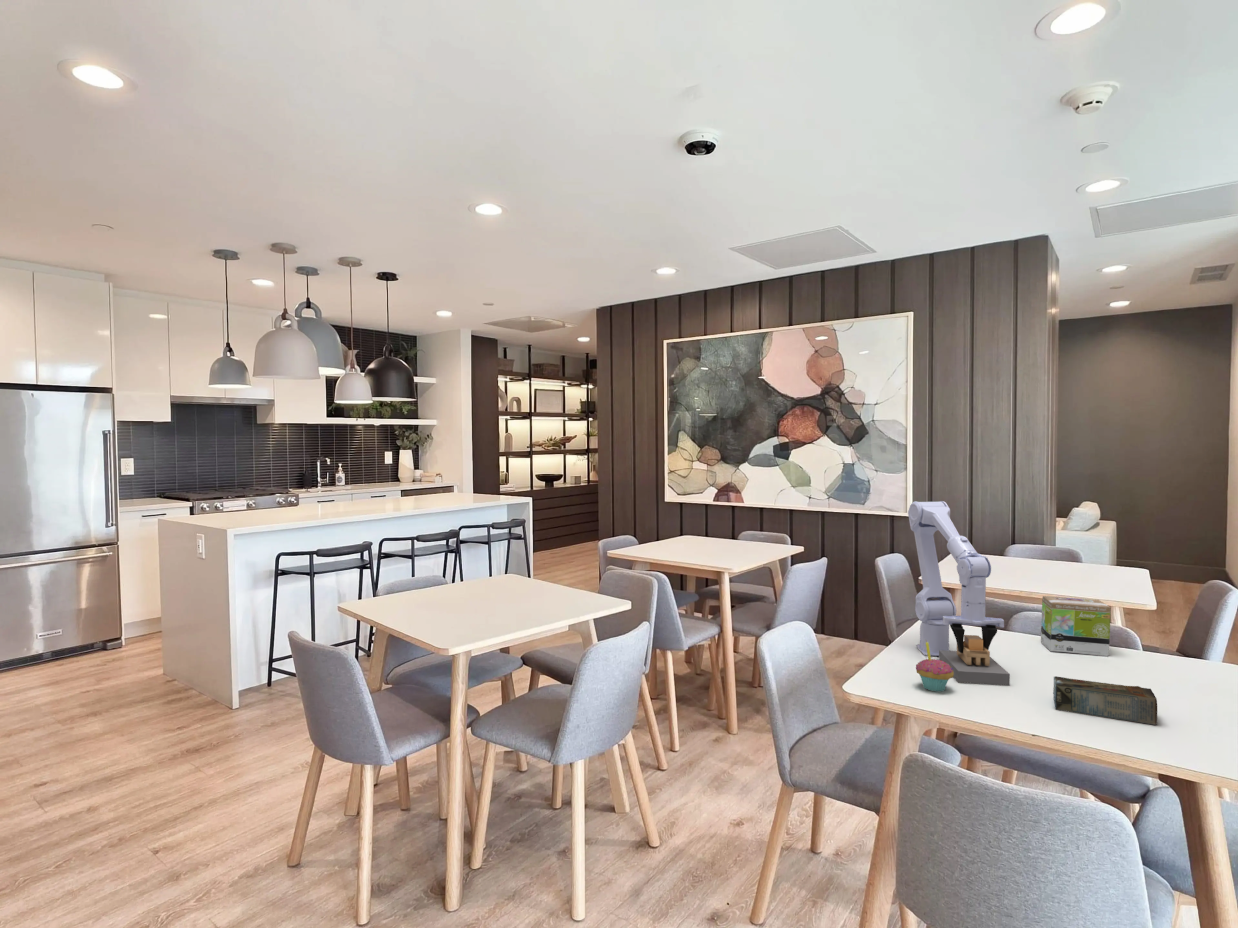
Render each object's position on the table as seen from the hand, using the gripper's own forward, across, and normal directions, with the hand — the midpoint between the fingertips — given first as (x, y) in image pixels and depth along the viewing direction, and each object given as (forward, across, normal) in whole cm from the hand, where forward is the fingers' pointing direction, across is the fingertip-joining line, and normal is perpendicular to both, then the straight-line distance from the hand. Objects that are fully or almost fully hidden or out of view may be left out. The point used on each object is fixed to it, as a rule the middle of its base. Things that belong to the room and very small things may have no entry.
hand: (972, 652), depth 183 cm
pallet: (+2, 0, 0) cm, 2 cm away
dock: (+5, 0, 0) cm, 5 cm away
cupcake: (+6, -13, -14) cm, 20 cm away
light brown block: (-1, 0, 0) cm, 1 cm away
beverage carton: (+6, +20, -24) cm, 32 cm away
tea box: (+6, +36, +27) cm, 45 cm away
